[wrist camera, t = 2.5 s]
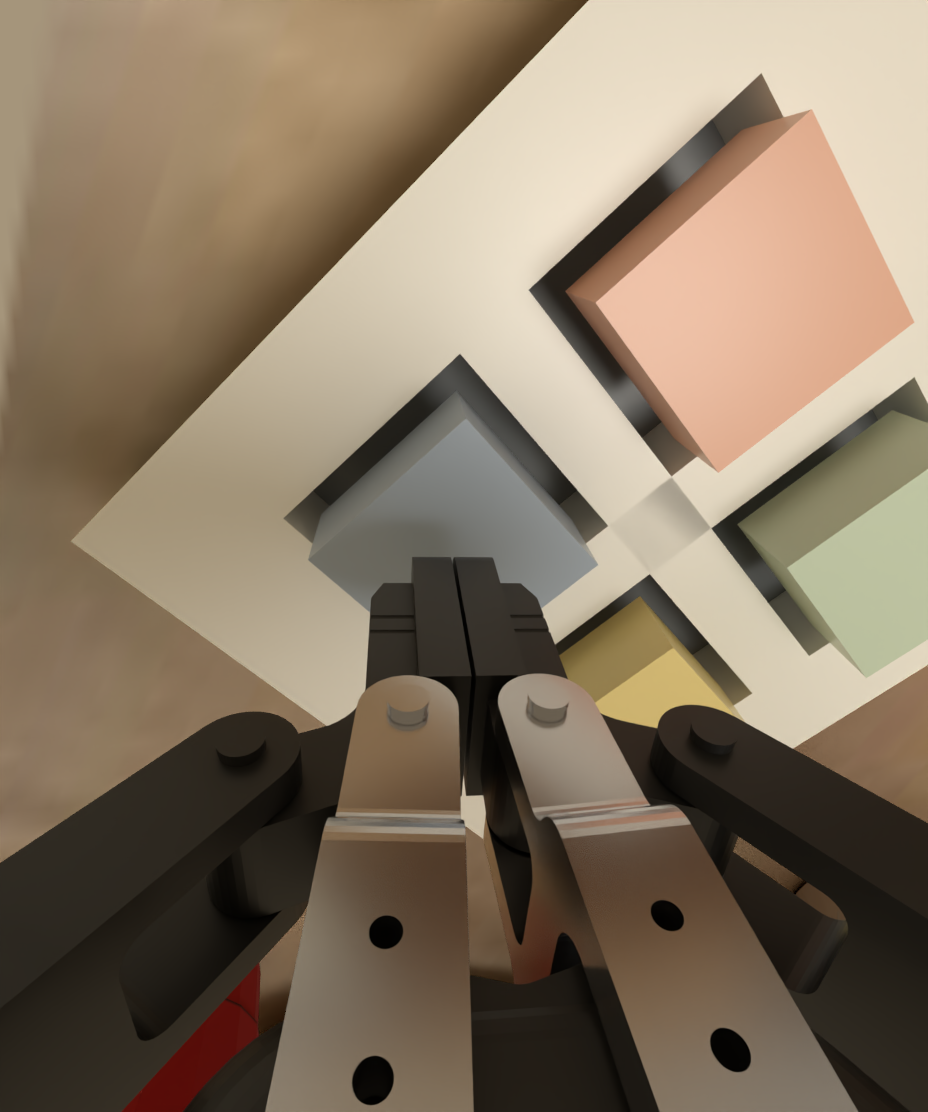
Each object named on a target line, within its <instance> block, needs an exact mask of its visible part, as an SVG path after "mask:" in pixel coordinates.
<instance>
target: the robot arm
mask: <svg viewBox="0 0 928 1112" xmlns="http://www.w3.org/2000/svg"><path fill="white" fill-rule="evenodd" d="M543 616H544V615H543V612H542V609H541V607H540V604H539V601H538V599H537V597H536V596H535V595H533V594H532V593H531V592H530V591H529V590H528V589H527V588H525V587H524V586H523V585H522V584H521V583H500V579H499V576H498V573H497V569H496V566H495V563H494V559H493V558H492V557H454V558H453V562H452V559H451V557H412V569H411V583H383V584H382V585H381V587H380V588H379V589H378V590H377V591H376V593H375V594H374V595H373V596H372V597H371V606H370V622H369V638H368V655H367V671H366V687H365V692H364V693H363V694H362V695H361V697H360V698H359V700H358V704H357V707H356V708H355V709H354V710H353V711H352V712H351V713H350V714H349V715H347V716H346V717H344V718H343V719H341V720H339V721H337V722H335V723H333V724H331V725H328V726H325V727H322V728H319V729H315V730H311V731H307V732H303V733H300V734H298V732H297V730H296V729H295V727H294V726H293V725H292V724H291V723H290V722H288V721H287V720H286V719H284V718H282V717H280V716H278V715H274V714H271V713H265V712H243V713H237V714H233V715H229V716H226V717H223V718H221V719H218V720H216V721H214V722H212V723H210V724H209V725H207V726H205V727H204V728H202V729H201V730H199V731H198V732H196V733H195V734H193V735H192V736H190V737H189V738H187V739H186V740H184V741H183V742H181V743H180V744H178V745H177V746H175V747H174V748H172V749H171V750H169V751H168V752H166V753H165V754H163V755H162V756H160V757H159V758H157V759H156V760H154V761H153V762H151V763H150V764H148V765H147V766H145V767H144V768H142V769H141V770H139V771H138V772H136V773H135V774H133V775H132V776H130V777H129V778H127V779H126V780H124V781H123V782H121V783H120V784H118V785H117V786H115V787H114V788H112V789H111V790H109V791H108V792H106V793H105V794H103V795H102V796H100V797H99V798H97V799H96V800H94V801H93V802H91V803H90V804H88V805H87V806H85V807H84V808H82V809H81V810H79V811H78V812H76V813H75V814H73V815H72V816H70V817H69V818H67V819H66V820H64V821H63V822H61V823H60V824H58V825H57V826H55V827H54V828H52V829H51V830H49V831H48V832H46V833H45V834H43V835H42V836H40V837H39V838H37V839H36V840H34V841H33V842H31V843H30V844H28V845H27V846H25V847H24V848H22V849H21V850H19V851H18V852H16V853H15V854H13V855H12V856H10V857H9V858H7V859H6V860H4V861H3V862H1V863H0V1112H122V1110H123V1109H124V1108H125V1107H126V1106H127V1105H128V1104H129V1103H130V1102H131V1101H132V1100H133V1099H134V1097H135V1096H136V1095H137V1094H138V1093H139V1092H140V1091H141V1090H142V1089H143V1088H144V1087H145V1085H146V1084H147V1083H148V1082H149V1081H150V1080H151V1079H152V1078H153V1077H154V1076H155V1075H156V1074H157V1072H158V1071H159V1070H160V1069H161V1068H162V1067H163V1066H164V1065H165V1064H166V1063H167V1062H168V1061H169V1059H170V1058H171V1057H172V1056H173V1055H174V1054H175V1053H176V1052H177V1051H178V1050H179V1049H180V1048H181V1046H182V1045H183V1044H184V1043H185V1042H186V1041H187V1040H188V1039H189V1038H190V1037H191V1036H192V1035H193V1033H194V1032H195V1031H196V1030H197V1029H198V1028H199V1027H200V1026H201V1025H202V1024H203V1023H204V1021H205V1020H206V1019H207V1018H208V1017H209V1016H210V1015H211V1014H212V1013H213V1012H214V1011H215V1010H216V1008H217V1007H218V1006H219V1005H220V1004H221V1003H222V1002H223V1001H224V1000H225V999H226V998H227V997H228V995H229V994H230V993H231V992H232V991H233V990H234V989H235V988H236V987H237V986H238V985H239V984H240V982H241V981H242V980H243V979H244V978H245V977H246V976H247V975H248V974H249V973H250V972H251V970H252V969H253V968H254V967H255V966H256V965H257V964H258V963H259V962H260V961H261V960H262V959H263V957H264V956H265V955H266V954H267V953H268V952H269V951H270V950H271V949H272V948H273V947H274V946H275V944H276V943H277V942H278V941H279V940H280V939H281V938H282V937H283V936H284V935H285V934H286V933H287V931H288V930H289V929H290V928H291V927H292V926H293V925H294V924H295V923H296V922H297V920H298V919H299V918H300V917H301V915H302V914H303V912H304V911H305V909H306V907H307V905H308V907H307V912H306V916H305V921H304V926H303V931H302V936H301V941H300V946H299V950H298V955H297V960H296V965H295V970H294V975H293V979H292V984H291V989H290V994H289V999H288V1004H287V1009H286V1013H285V1018H284V1021H282V1022H280V1023H278V1024H277V1025H275V1026H274V1027H272V1028H270V1029H269V1030H267V1031H266V1032H264V1033H263V1034H261V1035H260V1036H258V1037H257V1038H255V1039H254V1040H253V1041H251V1042H250V1043H249V1044H248V1045H247V1046H245V1047H244V1048H243V1049H242V1050H240V1051H239V1052H238V1053H237V1054H236V1055H234V1056H233V1057H232V1058H231V1059H230V1060H229V1061H228V1062H227V1063H226V1064H225V1065H224V1066H223V1067H222V1068H221V1069H220V1070H219V1071H218V1072H217V1073H216V1074H215V1075H214V1076H213V1077H212V1078H211V1079H210V1080H209V1081H208V1082H207V1083H206V1084H205V1085H204V1086H203V1088H202V1089H201V1090H200V1091H199V1092H198V1093H197V1095H196V1096H195V1097H194V1098H193V1099H192V1101H191V1102H190V1103H189V1104H188V1106H187V1107H186V1108H185V1109H184V1111H183V1112H928V823H926V822H924V821H923V820H921V819H919V818H917V817H915V816H914V815H912V814H910V813H908V812H906V811H905V810H903V809H901V808H899V807H897V806H895V805H894V804H892V803H890V802H888V801H886V800H885V799H883V798H881V797H879V796H877V795H876V794H874V793H872V792H870V791H868V790H867V789H865V788H863V787H861V786H859V785H857V784H856V783H854V782H852V781H850V780H848V779H847V778H845V777H843V776H841V775H839V774H838V773H836V772H834V771H832V770H830V769H829V768H827V767H825V766H823V765H821V764H820V763H818V762H816V761H814V760H812V759H810V758H809V757H807V756H805V755H803V754H801V753H800V752H798V751H796V750H794V749H792V748H791V747H789V746H787V745H785V744H783V743H782V742H780V741H778V740H776V739H774V738H772V737H771V736H769V735H767V734H765V733H763V732H762V731H760V730H758V729H756V728H754V727H753V726H751V725H749V724H747V723H745V722H744V721H742V720H740V719H738V718H736V717H734V716H732V715H730V714H728V713H726V712H724V711H721V710H718V709H715V708H712V707H707V706H702V705H682V706H677V707H674V708H671V709H669V710H668V711H666V712H665V713H664V714H663V715H662V716H661V718H660V720H659V723H658V726H657V728H654V727H649V726H644V725H640V724H635V723H630V722H626V721H621V720H618V719H614V718H611V717H609V716H606V715H604V714H602V713H600V711H599V709H598V707H597V706H596V704H595V702H594V700H593V699H592V697H591V696H590V695H589V693H588V692H587V691H586V690H584V689H583V688H582V687H581V686H579V685H577V684H576V683H574V682H572V681H570V680H568V678H567V675H566V672H565V670H564V667H563V664H562V662H561V659H560V657H559V654H558V651H557V649H556V646H555V643H554V641H553V638H552V636H551V633H550V632H549V628H548V625H547V622H546V620H545V618H544V617H543ZM463 776H464V784H465V792H466V796H480V795H483V797H484V804H485V810H486V815H485V825H484V835H483V839H484V845H485V850H486V854H487V858H488V863H489V867H490V871H491V876H492V880H493V884H494V889H495V893H496V897H497V902H498V906H499V910H500V914H501V919H502V923H503V927H504V932H505V936H506V940H507V945H508V949H509V953H510V958H511V964H512V971H513V981H514V984H510V983H506V982H501V981H496V980H491V979H486V978H482V977H477V976H472V975H470V968H469V933H468V898H467V864H466V833H465V822H464V820H461V796H462V787H463ZM738 836H739V837H741V838H742V839H744V840H745V841H747V842H748V843H749V844H751V845H752V846H754V847H755V848H757V849H758V850H760V851H761V852H763V853H764V854H766V855H767V856H769V857H770V858H772V859H773V860H775V861H776V862H778V863H779V864H781V865H782V866H784V867H785V868H787V869H788V870H790V871H791V872H793V873H794V874H796V875H797V876H798V877H800V878H801V879H803V880H804V881H806V882H807V883H806V884H805V885H804V886H803V887H802V888H801V889H800V890H799V891H798V892H797V893H796V895H795V894H793V893H792V892H790V891H789V890H787V889H786V888H785V887H783V886H782V885H780V884H779V883H777V882H776V881H774V880H773V879H772V878H770V877H769V876H767V875H766V874H764V873H763V872H761V871H760V870H759V869H757V868H756V867H754V866H753V865H751V864H750V863H748V862H747V861H746V860H744V859H743V858H741V857H740V856H738V855H737V854H735V853H734V852H733V849H734V847H735V844H736V841H737V839H738Z"/></svg>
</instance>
